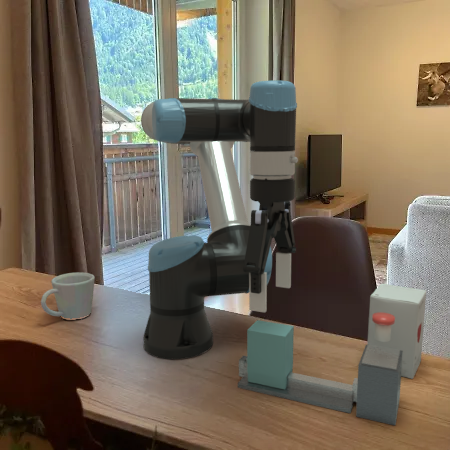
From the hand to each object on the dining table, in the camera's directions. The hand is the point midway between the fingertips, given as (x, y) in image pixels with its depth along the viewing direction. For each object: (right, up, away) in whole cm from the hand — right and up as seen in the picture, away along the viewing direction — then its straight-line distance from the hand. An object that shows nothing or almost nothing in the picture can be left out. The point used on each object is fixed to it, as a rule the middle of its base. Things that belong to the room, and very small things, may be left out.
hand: (271, 298), depth 82 cm
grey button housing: (+17, -18, -4) cm, 25 cm away
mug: (-48, -11, +36) cm, 60 cm away
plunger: (+17, -5, -7) cm, 19 cm away
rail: (+5, -17, +1) cm, 17 cm away
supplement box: (+25, -15, +10) cm, 31 cm away
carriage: (0, -16, +3) cm, 17 cm away
